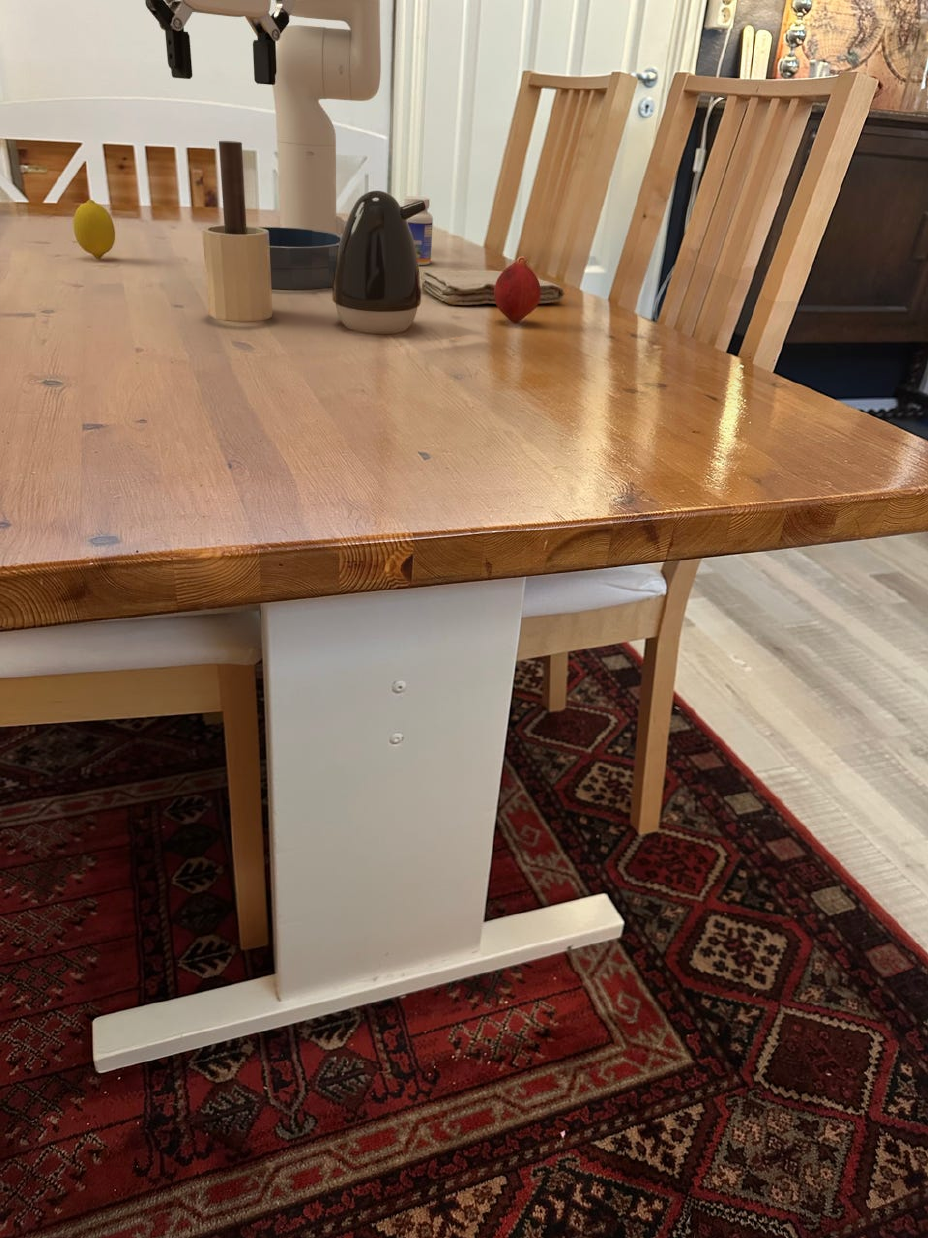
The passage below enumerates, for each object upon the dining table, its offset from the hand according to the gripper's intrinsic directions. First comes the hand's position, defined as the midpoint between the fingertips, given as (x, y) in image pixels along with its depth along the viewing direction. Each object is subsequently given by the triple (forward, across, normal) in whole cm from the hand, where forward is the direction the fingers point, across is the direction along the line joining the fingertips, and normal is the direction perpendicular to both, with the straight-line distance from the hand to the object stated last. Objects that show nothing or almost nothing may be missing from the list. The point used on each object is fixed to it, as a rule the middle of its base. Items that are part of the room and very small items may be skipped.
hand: (224, 81), depth 94 cm
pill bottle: (+24, -45, -22) cm, 56 cm away
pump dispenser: (+25, -11, +12) cm, 30 cm away
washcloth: (+24, -38, +3) cm, 45 cm away
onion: (+24, -30, +16) cm, 42 cm away
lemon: (+24, -1, -42) cm, 48 cm away
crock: (+24, 0, 0) cm, 24 cm away
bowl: (+24, -17, -17) cm, 34 cm away
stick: (+24, 0, 0) cm, 24 cm away
